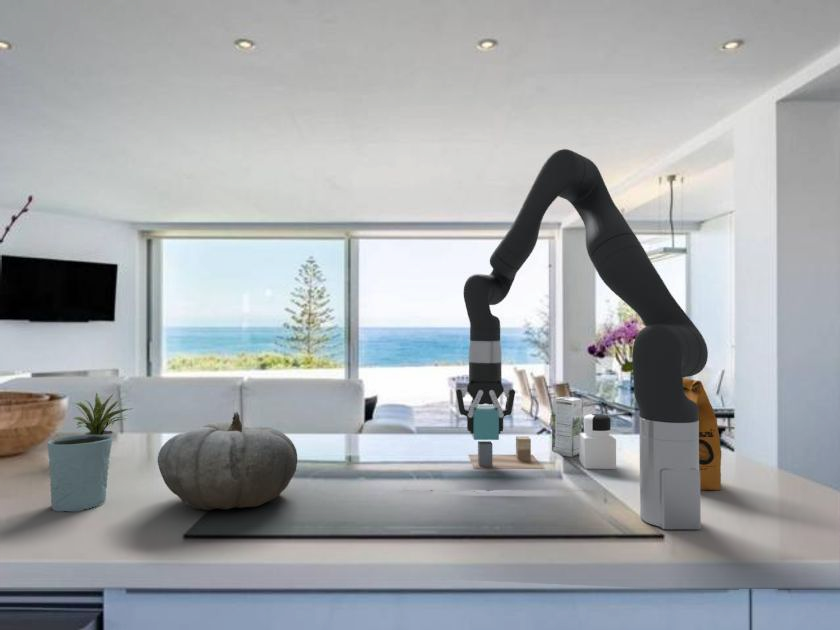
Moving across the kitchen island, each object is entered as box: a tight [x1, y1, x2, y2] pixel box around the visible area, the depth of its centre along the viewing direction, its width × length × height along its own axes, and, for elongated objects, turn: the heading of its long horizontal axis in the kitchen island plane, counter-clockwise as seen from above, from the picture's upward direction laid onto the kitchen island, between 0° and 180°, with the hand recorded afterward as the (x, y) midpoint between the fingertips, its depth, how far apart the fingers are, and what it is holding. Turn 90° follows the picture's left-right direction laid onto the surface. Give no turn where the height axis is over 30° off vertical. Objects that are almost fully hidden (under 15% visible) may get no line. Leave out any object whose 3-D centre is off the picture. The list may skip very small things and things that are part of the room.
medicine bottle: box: [578, 413, 617, 470], centre depth 133 cm, size 7×7×12 cm
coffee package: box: [683, 377, 722, 491], centre depth 118 cm, size 10×12×22 cm
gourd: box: [157, 411, 298, 511], centre depth 106 cm, size 25×25×17 cm
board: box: [468, 435, 546, 470], centre depth 133 cm, size 14×16×6 cm
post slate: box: [477, 440, 493, 466], centre depth 130 cm, size 3×3×5 cm
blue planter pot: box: [47, 434, 113, 512], centre depth 104 cm, size 10×10×12 cm
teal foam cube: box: [471, 406, 500, 441], centre depth 130 cm, size 6×6×7 cm
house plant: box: [70, 392, 134, 452], centre depth 139 cm, size 14×14×16 cm
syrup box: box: [551, 396, 583, 458], centre depth 145 cm, size 6×6×14 cm
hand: (485, 433), depth 130 cm, fingers closed on teal foam cube, 5 cm apart
